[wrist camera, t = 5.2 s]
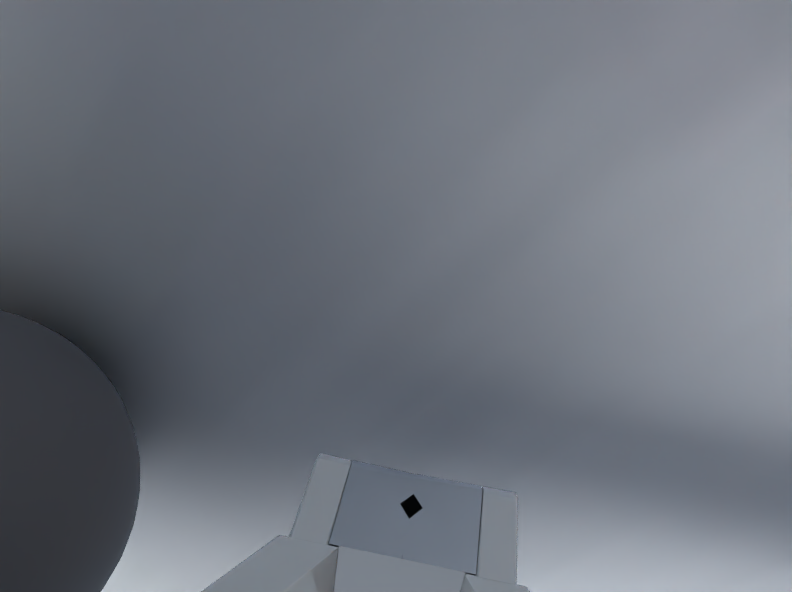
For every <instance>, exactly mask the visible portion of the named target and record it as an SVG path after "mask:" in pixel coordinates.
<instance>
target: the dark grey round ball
mask: <svg viewBox="0 0 792 592" xmlns="http://www.w3.org/2000/svg"><path fill="white" fill-rule="evenodd" d="M139 492H140V459H139V452H138V447H137V441H136V437H135V433H134V428H133V425H132V423H131V420H130V418H129V416H128V413H127V411H126V408H125V406H124V404H123V401H122V399H121V397H120V396H119V394H118V392H117V391H116V389H115V388H114V386H113V384H112V383H111V382H110V380H109V379H108V378H107V376H106V375H105V374H104V373H103V371H102V370H101V369H100V368H99V367H98V366H97V364H96V363H95V362H94V361H93V360H92V359H91V358H90V357H89V356H88V355H86V354H85V353H84V352H83V351H82V350H81V349H80V348H78V347H77V346H76V345H74V344H73V343H71V342H70V341H69V340H67V339H66V338H64V337H63V336H61V335H59V334H58V333H56V332H54V331H52V330H51V329H49V328H47V327H45V326H43V325H41V324H39V323H37V322H34V321H32V320H30V319H27V318H25V317H22V316H19V315H15V314H12V313H9V312H6V311H1V310H0V592H101V590H102V589H103V588H104V586H105V584H106V583H107V581H108V579H109V578H110V576H111V574H112V573H113V571H114V569H115V567H116V566H117V564H118V562H119V560H120V558H121V557H122V554H123V552H124V549H125V547H126V544H127V541H128V539H129V536H130V533H131V530H132V527H133V524H134V520H135V515H136V511H137V505H138V499H139Z"/></svg>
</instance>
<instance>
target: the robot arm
mask: <svg viewBox="0 0 792 592" xmlns="http://www.w3.org/2000/svg"><path fill="white" fill-rule="evenodd" d="M517 531H518V497H517V495H516V493H515V492H510V491H505V490H499V489H494V488H489V487H484V486H483V487H481V486H478V485H473V484H468V483H463V482H457V481H452V480H447V479H442V478H436V477H431V476H426V475H421V474H413V473H409V472H404V471H400V470H396V469H391V468H387V467H382V466H378V465H374V464H369V463H365V462H360V461H356V460H348V459H344V458H340V457H335V456H331V455H327V454H322V453H320V455H319V456H318V458H317V459H316V461H315V463H314V466H313V469H312V472H311V475H310V478H309V481H308V484H307V487H306V489H305V492H304V495H303V498H302V501H301V504H300V507H299V510H298V512H297V515H296V518H295V521H294V524H293V527H292V530H291V533H290V535H289V537H287V536H282V535H279V536H277V537H276V538H274V539H273V540H272V541H270V542H269V543H268V544H266V545H265V546H263V547H262V548H261V549H259V550H258V551H256V552H255V553H254V554H252V555H251V556H250V557H248V558H247V559H245V560H244V561H243V562H241V563H240V564H238V565H237V566H236V567H234V568H233V569H232V570H230V571H229V572H227V573H226V574H225V575H223V576H222V577H220V578H219V579H218V580H216V581H215V582H214V583H212V584H211V585H209V586H208V587H207V588H205V589H204V590H202V591H201V592H530V591H529V590H528V588H527V587H525V586H521V585H517Z"/></svg>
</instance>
